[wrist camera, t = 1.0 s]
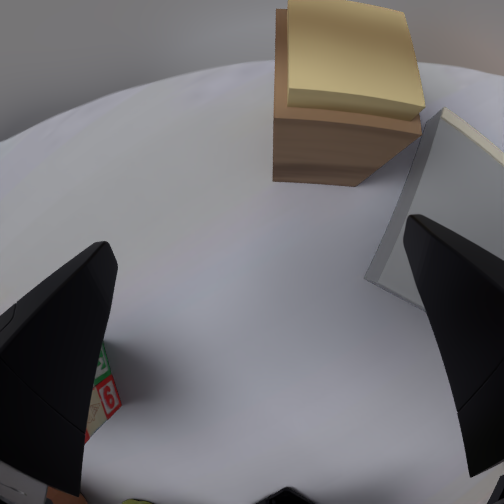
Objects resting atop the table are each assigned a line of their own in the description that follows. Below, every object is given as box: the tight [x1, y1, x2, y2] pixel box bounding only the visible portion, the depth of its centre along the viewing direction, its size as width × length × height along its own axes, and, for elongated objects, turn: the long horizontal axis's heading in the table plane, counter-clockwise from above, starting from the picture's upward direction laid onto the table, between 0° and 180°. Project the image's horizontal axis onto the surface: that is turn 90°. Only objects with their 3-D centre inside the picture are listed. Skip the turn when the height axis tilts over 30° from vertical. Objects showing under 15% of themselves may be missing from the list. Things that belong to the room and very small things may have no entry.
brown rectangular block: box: [273, 0, 425, 187], centre depth 15 cm, size 6×6×12 cm
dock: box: [364, 107, 504, 312], centre depth 19 cm, size 14×12×3 cm
